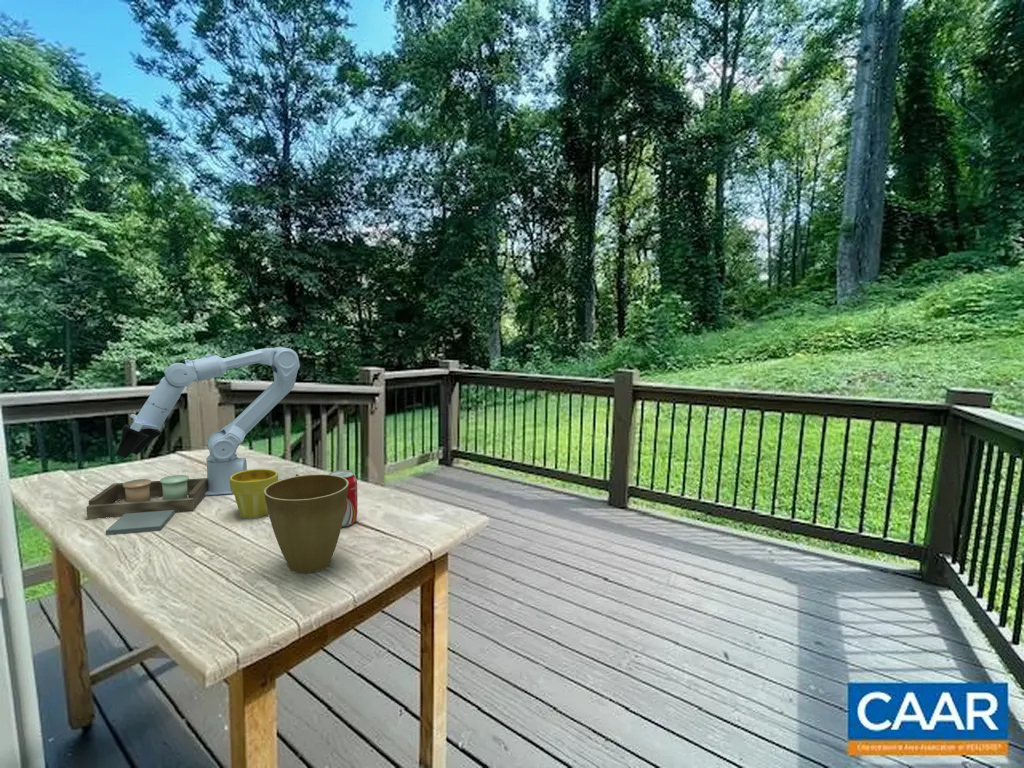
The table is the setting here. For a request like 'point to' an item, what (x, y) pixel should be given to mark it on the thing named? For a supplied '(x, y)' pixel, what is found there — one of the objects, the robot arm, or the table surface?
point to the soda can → (349, 496)
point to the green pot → (174, 487)
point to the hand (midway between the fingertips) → (127, 454)
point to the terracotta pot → (137, 490)
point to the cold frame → (106, 507)
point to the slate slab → (141, 522)
